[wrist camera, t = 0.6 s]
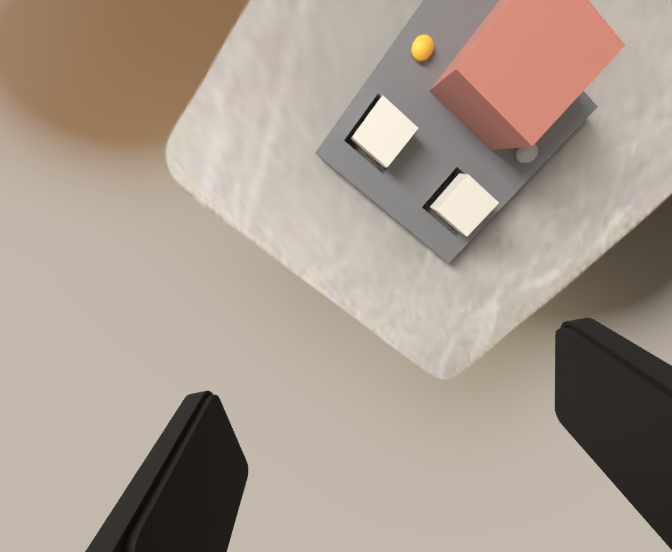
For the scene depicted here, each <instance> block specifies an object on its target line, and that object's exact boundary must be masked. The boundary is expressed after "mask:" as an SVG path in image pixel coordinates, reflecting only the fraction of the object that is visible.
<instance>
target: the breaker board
mask: <svg viewBox="0 0 672 552" xmlns="http://www.w3.org/2000/svg"><path fill="white" fill-rule="evenodd" d="M498 1H499V0H423V2H422V3H421V4H420V6H419V7H418V9H417V10H416V12H415V13H414V14H413V16H412V17H411V19H410V20H409V21H408V23H407V24H406V26H405V27H404V28H403V30H402V31H401V33H400V34H399V36H398V37H397V38H396V40H395V41H394V43H393V44H392V45H391V47H390V48H389V50H388V51H387V52H386V54H385V55H384V57H383V58H382V60H381V61H380V62H379V64H378V65H377V67H376V68H375V69H374V71H373V72H372V74H371V75H370V76H369V78H368V79H367V81H366V82H365V84H364V85H363V86H362V88H361V89H360V91H359V92H358V93H357V95H356V96H355V98H354V99H353V100H352V102H351V103H350V105H349V106H348V108H347V109H346V110H345V112H344V113H343V115H342V116H341V117H340V119H339V120H338V122H337V123H336V124H335V126H334V127H333V129H332V130H331V132H330V133H329V134H328V136H327V137H326V139H325V140H324V141H323V143H322V144H321V146H320V147H319V148H318V150H317V151H316V154H317V155H318V156H319V157H320V158H322V159H323V160H324V161H325V162H326V163H328V164H329V165H330V166H331V167H333V168H334V169H335V170H336V171H337V172H339V173H340V174H341V175H342V176H343V177H345V178H346V179H347V180H348V181H349V182H351V183H352V184H353V185H354V186H355V187H357V188H358V189H359V190H360V191H362V192H363V193H364V194H365V195H366V196H368V197H369V198H370V199H371V200H372V201H374V202H375V203H376V204H377V205H378V206H380V207H381V208H382V209H383V210H385V211H386V212H387V213H388V214H389V215H391V216H392V217H393V218H394V219H395V220H397V221H398V222H399V223H400V224H401V225H403V226H404V227H405V228H406V229H407V230H409V231H410V232H411V233H412V234H414V235H415V236H416V237H417V238H418V239H420V240H421V241H422V242H423V243H424V244H426V245H427V246H428V247H429V248H430V249H432V250H433V251H434V252H435V253H437V254H438V255H439V256H440V257H441V258H443V259H444V260H445V261H446V262H447V263H450V262H451V261H452V260H453V259H454V258H455V256H456V255H457V254H458V253H459V252H460V251H461V250H462V249H463V248H464V247H465V246H466V245H467V244H468V243H469V242H470V241H471V240H472V239H473V238H474V236H475V235H476V234H477V233H478V232H479V231H480V230H481V229H482V228H483V227H484V226H485V225H486V224H487V223H488V222H489V221H490V220H491V219H492V218H493V216H494V215H495V214H496V213H497V212H498V211H499V210H500V209H501V208H502V207H503V206H504V205H505V204H506V203H507V202H508V201H509V200H510V199H511V197H512V196H513V195H514V194H515V193H516V192H517V191H518V190H519V189H520V188H521V187H522V186H523V185H524V184H525V183H526V182H527V181H528V180H529V179H530V177H531V176H532V175H533V174H534V173H535V172H536V171H537V170H538V169H539V168H540V167H541V166H542V165H543V164H544V163H545V162H546V161H547V160H548V159H549V157H550V156H551V155H552V154H553V153H554V152H555V151H556V150H557V149H558V148H559V147H560V146H561V145H562V144H563V143H564V142H565V141H566V140H567V139H568V137H569V136H570V135H571V134H572V133H573V132H574V131H575V130H576V129H577V128H578V127H579V126H580V125H581V124H582V123H583V122H584V121H585V120H586V118H587V117H588V116H589V115H590V114H591V113H592V112H593V111H594V110H595V109H596V108H597V106H596V104H595V103H594V102H593V101H592V100H591V99H590V98H589V96H588V95H587V94H586V93H585V92H584V91H583V92H582V93H581V94H580V95H579V96H578V97H577V98H576V99H575V100H574V102H573V103H572V104H571V105H570V106H569V107H568V108H567V109H566V110H565V111H564V112H563V113H562V115H561V116H560V117H559V118H558V119H557V120H556V121H555V122H554V123H553V124H552V125H551V126H550V128H549V129H548V130H547V131H546V132H545V133H544V134H543V135H542V136H541V137H540V138H539V139H538V141H537V142H536V143H535V144H534V145H533V146H530V147H519V148H508V149H497V150H490V149H489V148H488V147H487V146H486V145H485V144H484V143H483V142H482V141H481V140H480V139H479V138H478V137H477V136H476V135H475V134H474V133H473V132H472V131H471V130H470V129H468V128H467V127H466V126H465V125H464V124H463V123H462V122H461V121H460V120H459V119H458V118H457V117H456V116H455V115H454V114H453V113H452V112H451V111H450V110H449V109H448V108H447V107H446V106H445V105H444V104H443V103H442V102H441V101H440V100H439V99H438V98H437V97H435V96H434V95H433V94H432V93H431V92H430V91H429V90H430V89H431V88H432V86H433V85H434V84H435V82H436V81H437V80H438V78H439V77H440V76H441V75H442V73H443V72H444V71H445V69H446V68H447V67H448V66H449V64H450V63H451V62H452V60H453V59H454V58H455V57H456V55H457V54H458V53H459V51H460V50H461V49H462V47H463V46H464V45H465V44H466V42H467V41H468V40H469V38H470V37H471V36H472V35H473V33H474V32H475V31H476V29H477V28H478V27H479V26H480V24H481V23H482V22H483V20H484V19H485V18H486V17H487V15H488V14H489V13H490V11H491V10H492V9H493V7H494V6H495V5H496V4H497V2H498ZM382 95H383V96H384V97H385V98H387V99H388V100H389V101H390V102H391V103H392V104H393V105H394V106H395V107H396V108H397V109H398V110H399V111H401V112H402V113H403V114H404V115H405V116H406V117H407V118H408V119H409V120H410V121H411V122H412V123H414V124H415V125H416V126H417V127H418V130H417V131H416V132H415V133H414V135H413V136H412V137H411V138H410V140H409V141H408V142H407V143H406V145H405V146H404V147H403V148H402V150H401V151H400V152H399V154H398V155H397V156H396V157H395V159H394V160H393V161H392V162H391V164H390V165H389V166H388V167H387V168H384V169H383V171H382V172H380V171H379V170H378V169H377V168H376V167H374V166H373V165H372V164H371V163H370V162H369V161H367V160H366V159H365V158H364V157H363V156H362V155H360V154H359V153H358V152H357V151H356V150H355V149H353V148H352V147H351V146H350V145H349V144H348V143H346V142H345V141H344V140H345V139H346V138H347V136H348V135H349V134H350V132H351V131H352V129H353V128H354V127H355V125H356V124H357V123H358V121H359V120H360V118H361V117H362V116H363V114H364V113H365V112H366V110H367V109H368V107H369V106H370V105H371V103H372V102H373V101H374V99H376V100H377V101H379V99H380V98H381V97H382ZM453 171H455V172H456V173H457V174H469V175H470V176H471V177H472V178H473V179H474V180H475V181H476V182H477V183H478V184H479V185H480V186H482V187H483V188H484V189H485V190H486V191H487V192H488V193H489V194H490V195H491V196H492V197H493V198H494V199H496V200H497V201H498V202H499V203H498V204H497V206H496V207H495V208H494V209H493V210H492V211H491V212H490V213H489V214H488V215H487V216H486V217H485V218H484V219H483V220H482V221H481V223H480V224H479V225H478V226H477V227H476V228H475V229H474V230H473V231H472V232H471V233H470V234H469V235H468V236H465V235H463V234H461V233H459V232H458V231H457V230H456V229H454V228H453V229H452V230H451V231H449V230H448V229H447V228H446V227H444V226H443V225H442V224H441V223H440V222H439V221H437V220H436V219H435V218H434V217H433V216H432V215H430V214H429V213H428V212H427V211H426V210H425V209H423V208H422V207H423V205H424V204H425V203H426V202H427V201H428V200H429V198H430V197H431V196H432V195H433V194H434V193H435V191H436V190H437V189H438V188H439V187H440V186H441V185H442V183H443V182H444V181H445V180H446V179H447V178H448V176H449V175H450V174H451V173H452V172H453Z"/></svg>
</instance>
